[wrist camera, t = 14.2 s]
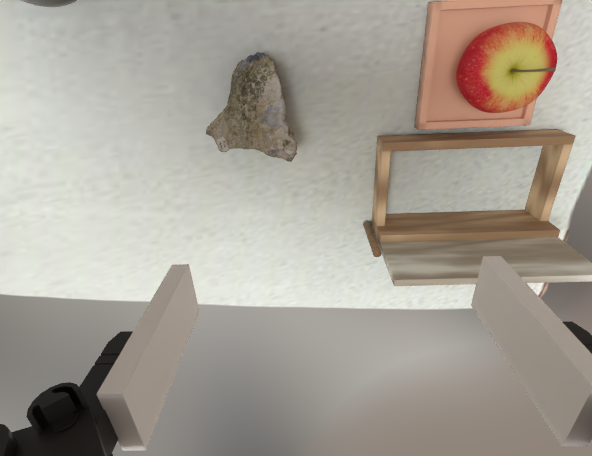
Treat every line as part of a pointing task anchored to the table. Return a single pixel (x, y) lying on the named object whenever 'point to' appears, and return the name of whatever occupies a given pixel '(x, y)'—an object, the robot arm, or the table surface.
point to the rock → (255, 112)
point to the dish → (450, 47)
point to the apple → (506, 67)
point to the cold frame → (476, 220)
